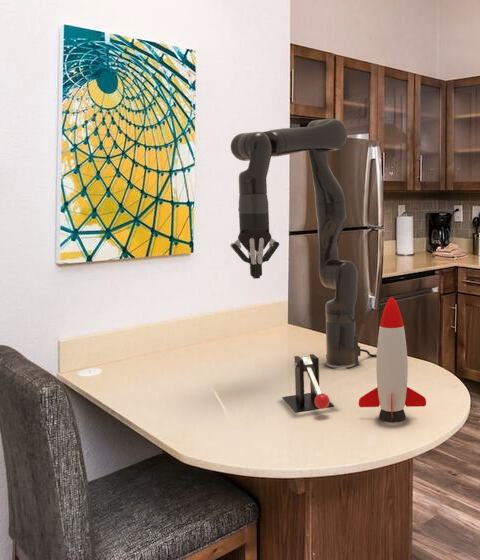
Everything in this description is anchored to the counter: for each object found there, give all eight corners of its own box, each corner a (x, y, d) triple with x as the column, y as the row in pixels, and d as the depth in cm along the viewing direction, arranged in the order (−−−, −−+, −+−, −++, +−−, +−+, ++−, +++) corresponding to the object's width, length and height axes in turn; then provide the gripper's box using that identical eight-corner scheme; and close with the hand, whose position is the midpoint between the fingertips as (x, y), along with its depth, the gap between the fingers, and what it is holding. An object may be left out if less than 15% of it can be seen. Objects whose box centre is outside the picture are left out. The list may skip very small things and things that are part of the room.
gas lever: (330, 410, 147) (332, 400, 145) (315, 413, 146) (317, 402, 144) (310, 364, 159) (312, 354, 157) (297, 366, 158) (299, 355, 156)
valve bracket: (334, 410, 155) (333, 360, 153) (295, 416, 151) (294, 365, 149) (318, 395, 166) (317, 349, 164) (282, 401, 161) (280, 353, 160)
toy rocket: (358, 425, 146) (357, 298, 148) (392, 419, 154) (390, 299, 156) (393, 430, 138) (392, 296, 140) (426, 424, 146) (424, 297, 148)
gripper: (230, 212, 153) (233, 281, 155) (282, 211, 158) (284, 278, 161) (225, 211, 160) (228, 278, 162) (275, 210, 165) (277, 274, 168)
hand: (256, 278), depth 162 cm, fingers closed
